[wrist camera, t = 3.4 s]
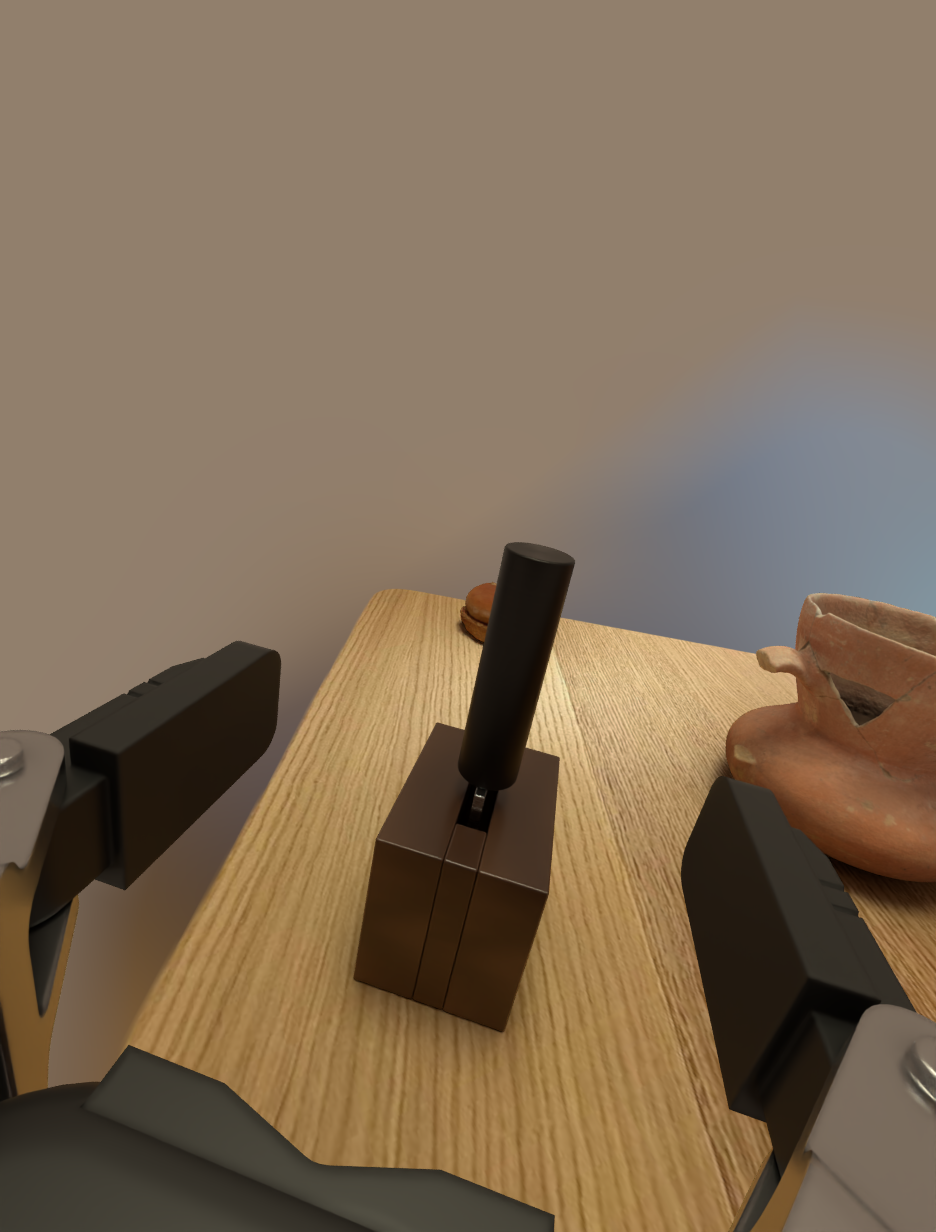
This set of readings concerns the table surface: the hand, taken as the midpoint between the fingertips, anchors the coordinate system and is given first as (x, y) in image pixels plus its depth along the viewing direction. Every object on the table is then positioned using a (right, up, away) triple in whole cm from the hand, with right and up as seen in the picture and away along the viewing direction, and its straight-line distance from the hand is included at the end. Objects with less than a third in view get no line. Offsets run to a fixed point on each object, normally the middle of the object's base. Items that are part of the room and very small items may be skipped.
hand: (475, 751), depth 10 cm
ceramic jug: (+24, -12, +27) cm, 38 cm away
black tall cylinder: (-1, -11, +14) cm, 18 cm away
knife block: (-1, -11, +14) cm, 18 cm away
